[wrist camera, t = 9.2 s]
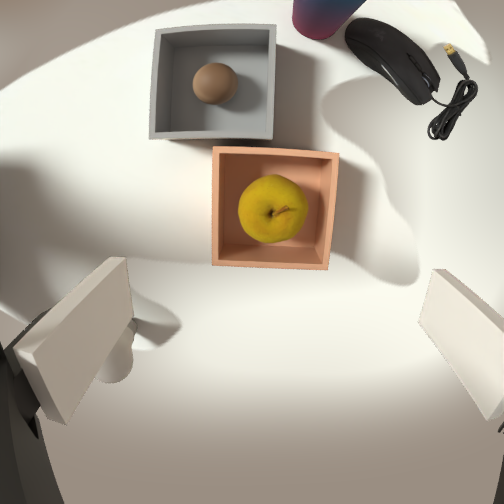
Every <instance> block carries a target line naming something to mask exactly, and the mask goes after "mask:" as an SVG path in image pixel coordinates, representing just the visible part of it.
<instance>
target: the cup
mask: <svg viewBox="0 0 504 504" xmlns="http://www.w3.org/2000/svg"><path fill="white" fill-rule="evenodd" d="M365 1H366V0H294V3H293V15H292V21H293V25H294V27H295V28H296V29H297V31H298V32H299V33H301V34H302V35H304V36H305V37H308V38H311V39H317V40H320V39H326V38H328V37H330V36H332V35H333V34H334V33H335V32H336V31H337V30H338V29H339V27H340V26H341V25H342V24H343V23H344V22H345V21H346V20H347V19H348V18H349V17H350V16H351V15H352V14H353V13H354V12H355V11H356V10H357V9H358V8H359V7H360V6H361V5H362V4H363V3H364V2H365Z"/></svg>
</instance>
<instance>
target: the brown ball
mask: <svg viewBox="0 0 504 504" xmlns="http://www.w3.org/2000/svg"><path fill="white" fill-rule="evenodd" d="M237 88H238V78H237V75H236V73H235V72H234V70H233V69H232V68H231V67H229V66H228V65H225V64H223V63H210V64H207V65H205V66H203V67H202V68H200V69H199V70H198V71H197V73H196V74H195V76H194V79H193V90H194V93H195V94H196V96H197V97H198V98H199V99H200V100H201V101H203V102H204V103H207V104H211V105H219V104H223V103H225V102H227V101H229V100H230V99H231V98H232V97H233V96H234V95H235V93H236V91H237Z"/></svg>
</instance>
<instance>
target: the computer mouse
mask: <svg viewBox="0 0 504 504" xmlns="http://www.w3.org/2000/svg"><path fill="white" fill-rule="evenodd" d="M345 38H346V42H347V44H348V46H349V48H350V49H351V51H352V52H353V53H354V54H355V55H356V56H357V57H358V59H359V60H360V61H361V62H363V63H364V64H365V65H366V66H368V67H369V68H371V69H372V70H374V71H376V72H378V73H379V74H381V76H382V75H383V77H384V78H386V79H387V80H388V81H389V82H391V83H392V84H393V85H394V86H395V87H396V88H397V89H398V90H399V91H400V92H401V94H402V95H403V96H404V97H405V98H406V99H407V100H409V101H410V102H412V103H413V104H415V105H422V104H423V105H424V104H425V103H427V102H429V101H430V100H433V101H434V102H436V103H437V104H439V105H442V106H444V107H446V108H445V109H444V110H443V111H442V112H441V113H440V114H439V115H438V116H437V117H435V118H434V119H433V120H432V121H431V122H430V124H429V126H428V131H427V132H428V136H429V138H430V139H432V140H438V139H441V140H446V139H447V138H448V137H449V135H450V133H451V131H452V129H453V127H454V125H455V123H456V121H457V119H458V117H459V116H461V112H462V111H463V110H464V109H465V108H466V107H467V105H468V104H469V103H470V102H471V101H472V100H473V99H474V98H475V96H476V95H477V92H478V86H477V84H476V82H474V81H473V80H469V78H470V77H469V76H468V74H467V70H466V67H465V64H464V62H463V61H462V59H461V58H460V56H459V54H458V52H457V51H455V50H454V49H453V47H452V46H451V44H450V43H449V44H447V45H445V46H444V49H445V50H446V52H447V54H448V55H447V56H448V57H449V59H450V60H451V62H452V64H453V65H454V67H455V68H456V69H457V70H458V71H459V72H460V73H461V74H462V75H463V76H464V78H465V80H460V81H459V83H458V84H457V86H456V90H455V93H454V95H453V98H452V100H451V102H450V103H449V104H448V105H445V104H441V103H439V102H438V101H436V100H435V99H434V98H433V97H432V95H431V93H432V92H433V91H436V92H438V87H439V83H440V77H439V75H438V73H437V71H436V69H435V67H434V66H433V64H432V62H431V61H430V60H429V58H428V56H427V55H426V54H425V52H424V51H423V50H422V49H421V48H420V47H419V46H418V45H417V44H416V43H414V42H413V41H412V40H411V39H410V38H409V37H407V36H406V35H405V34H403V33H402V32H400V31H399V30H397V29H396V28H394V27H392V26H390V25H388V24H386V23H384V22H381V21H378V20H374V19H370V18H358V19H356V20H354V21H352V22H351V23H350V24H349V25H348V27H347V29H346V33H345ZM466 86H467V87H468V92H467V94H466V95H464V91H465V88H466ZM447 121H448V122H447ZM446 122H447V123H446ZM436 123H437V125H436ZM431 127H432V133H433V134H434V137H435V138H434V137H432V136H431V134H430V128H431Z"/></svg>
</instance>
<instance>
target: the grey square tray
mask: <svg viewBox="0 0 504 504" xmlns="http://www.w3.org/2000/svg"><path fill="white" fill-rule="evenodd" d="M275 60H276V25H274V24H208V25H193V26H182V27H172V28H164V29H156V32H155V41H154V51H153V62H152V75H151V91H150V113H149V139H152V140H177V139H249V140H272V139H273V118H274V90H275ZM210 63H223V64H225V65H228V66H229V67H231V68H232V69H233V70H234V72H235V73H236V75H237V78H238V88H237V91H236V93H235V95H234V96H233V97H232V98H231V99H230V100H229V101H227V102H225V103H223V104H219V105H211V104H207V103H204V102H203V101H201V100H200V99H199V98H198V97H197V96H196V94H195V93H194V90H193V79H194V76H195V74H196V73H197V71H198V70H199V69H200V68H202V67H203V66H205V65H207V64H210Z"/></svg>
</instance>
